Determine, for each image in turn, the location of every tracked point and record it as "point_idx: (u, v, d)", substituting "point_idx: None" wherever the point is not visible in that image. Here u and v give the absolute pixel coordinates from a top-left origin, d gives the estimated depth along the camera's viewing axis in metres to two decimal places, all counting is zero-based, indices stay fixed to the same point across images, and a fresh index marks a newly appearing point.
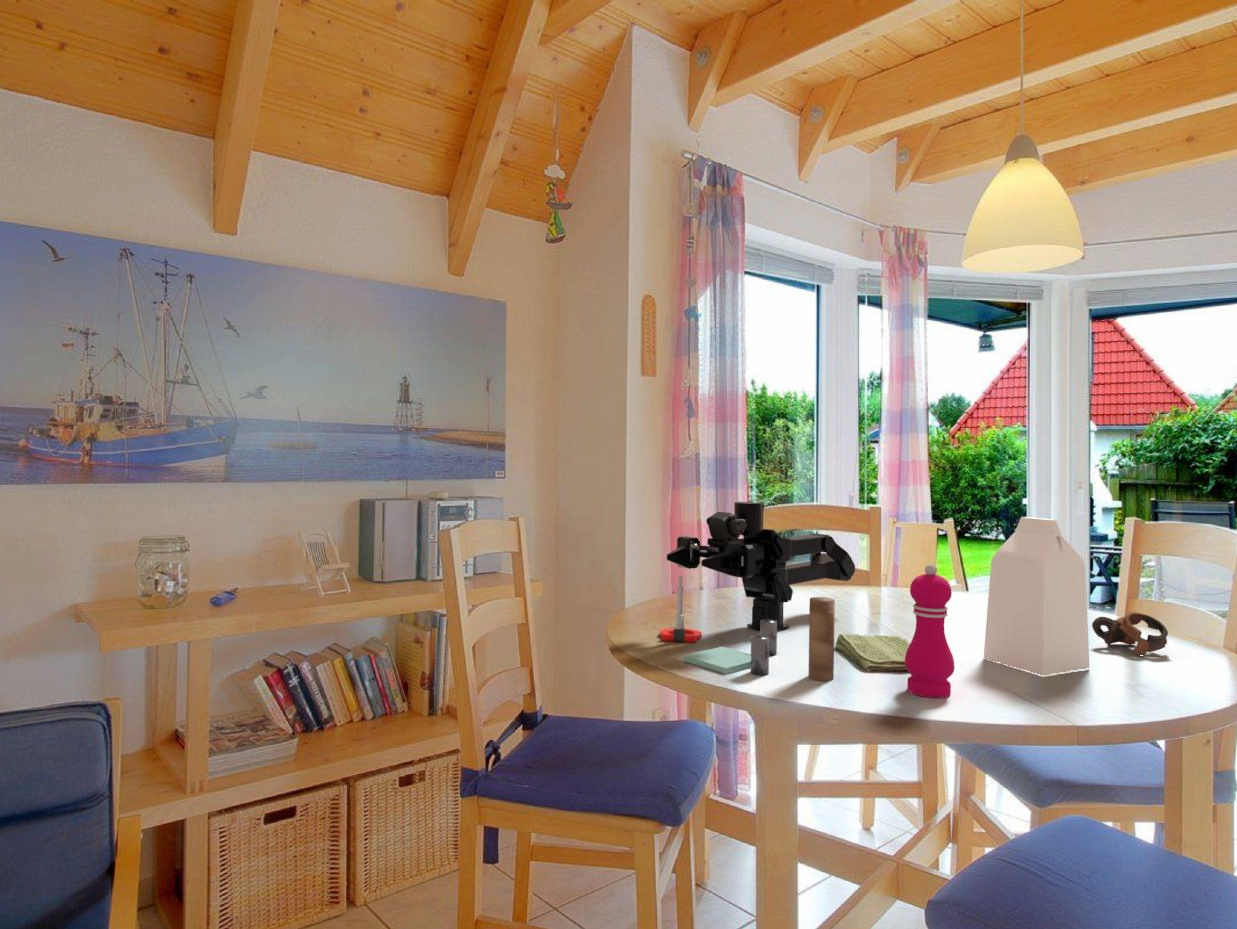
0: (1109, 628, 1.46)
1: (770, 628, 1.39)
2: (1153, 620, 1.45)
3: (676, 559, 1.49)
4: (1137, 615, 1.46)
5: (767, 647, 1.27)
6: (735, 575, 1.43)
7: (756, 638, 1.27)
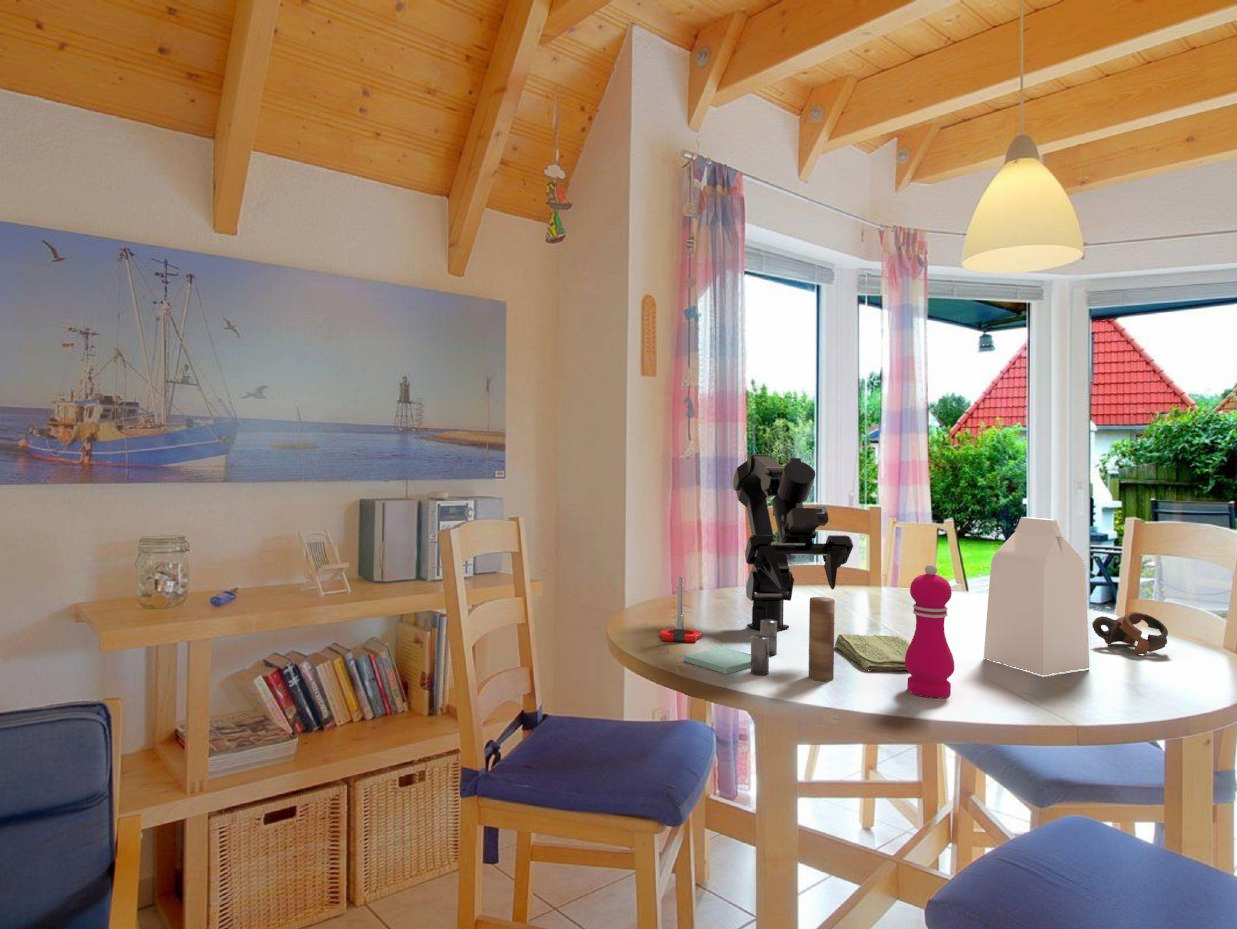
0: (1109, 628, 1.46)
1: (770, 628, 1.39)
2: (1153, 620, 1.45)
3: None
4: (1137, 615, 1.46)
5: (767, 647, 1.27)
6: None
7: (756, 638, 1.27)
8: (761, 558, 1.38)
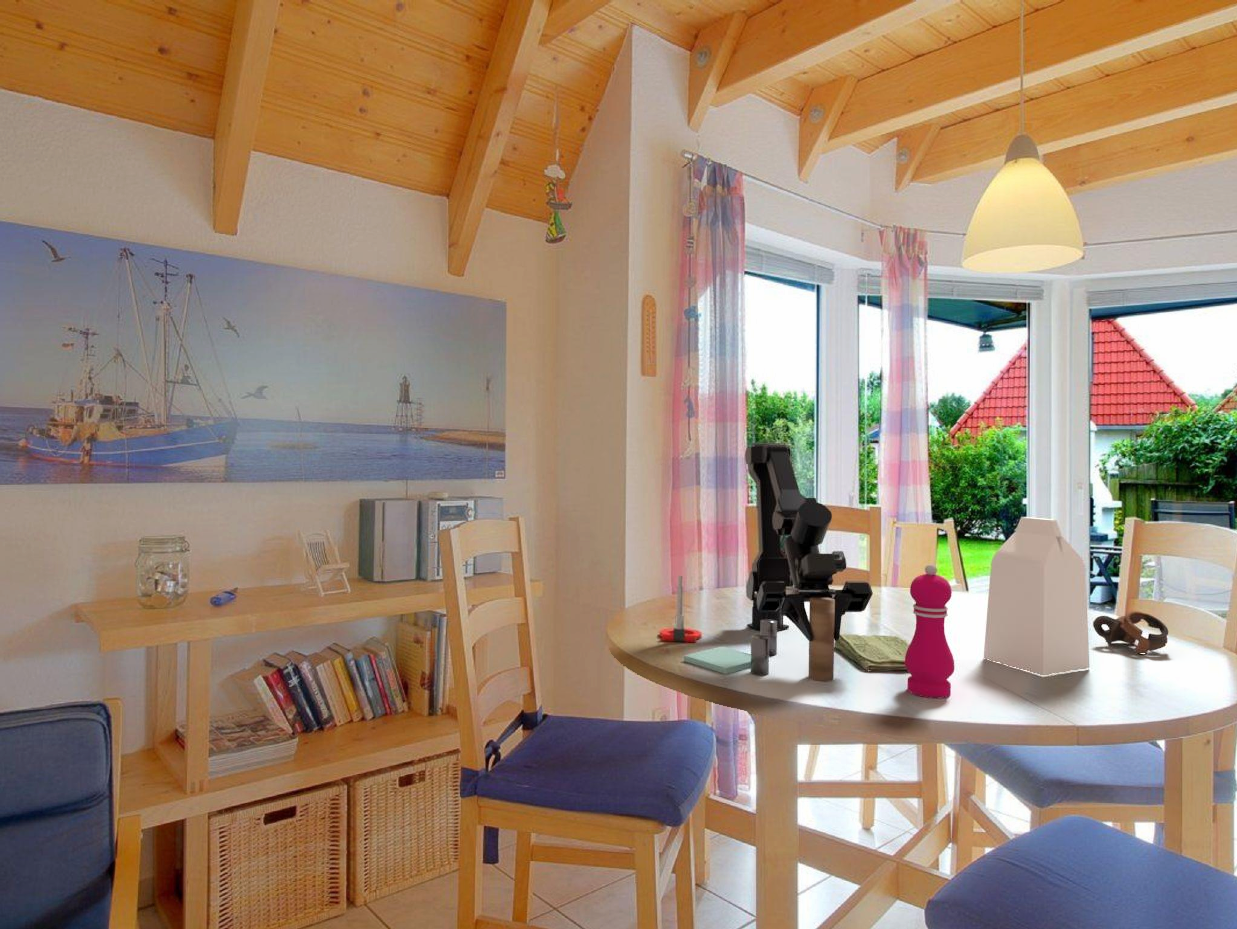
0: (1110, 627, 1.47)
1: (770, 628, 1.39)
2: (1153, 619, 1.46)
3: None
4: (1138, 614, 1.47)
5: (767, 647, 1.27)
6: None
7: (756, 638, 1.27)
8: (788, 606, 1.29)
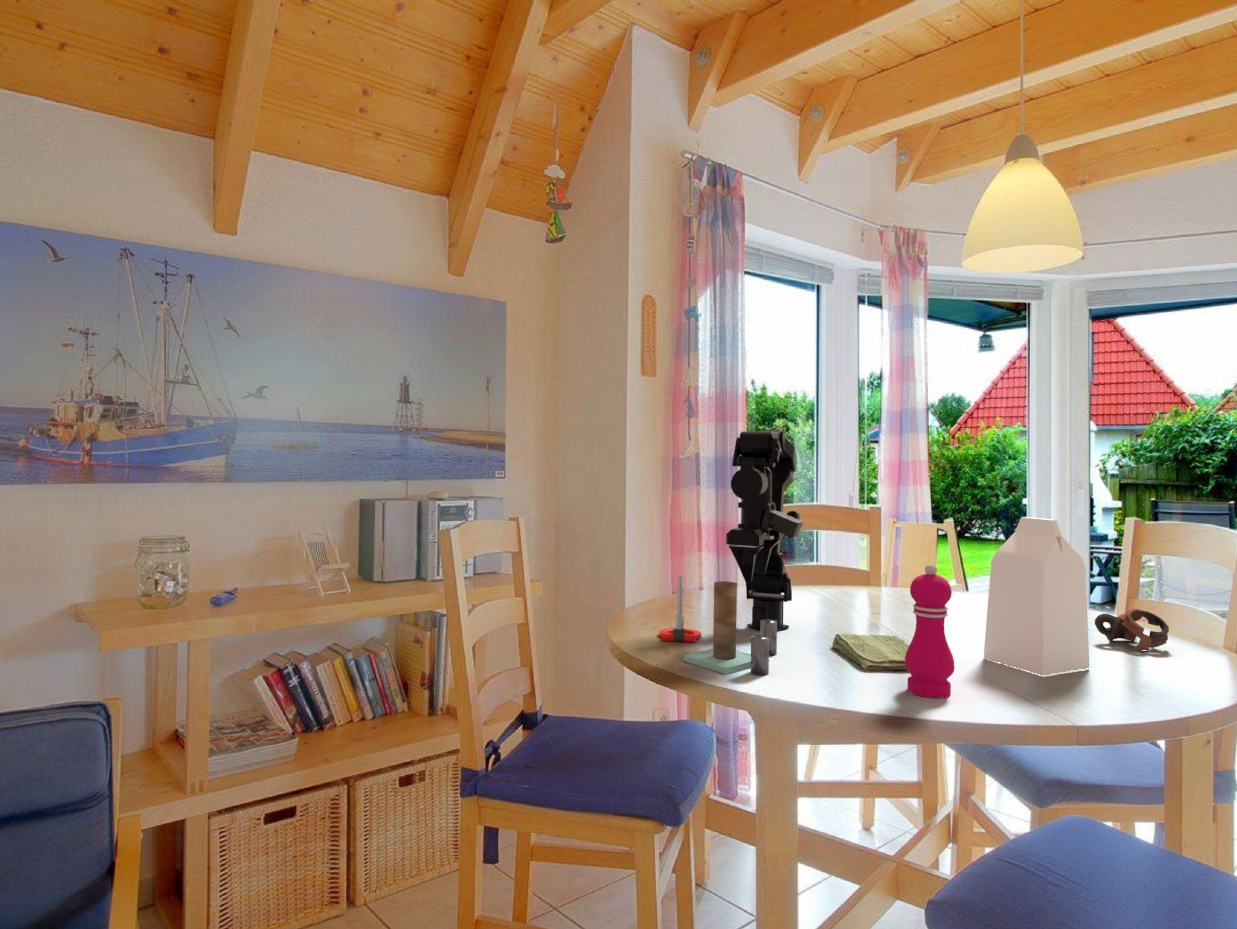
0: (1112, 625, 1.49)
1: (770, 628, 1.39)
2: (1154, 616, 1.48)
3: None
4: (1138, 612, 1.49)
5: (767, 647, 1.27)
6: None
7: (756, 638, 1.27)
8: None
